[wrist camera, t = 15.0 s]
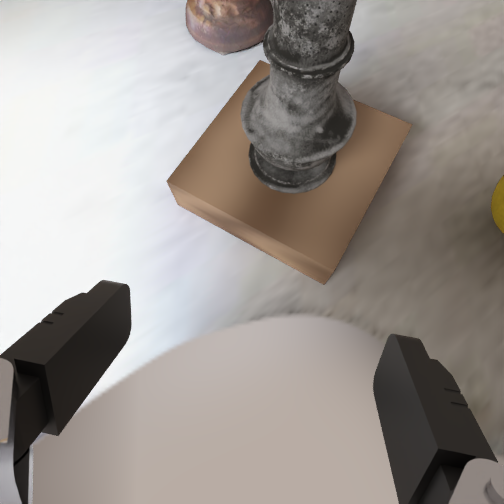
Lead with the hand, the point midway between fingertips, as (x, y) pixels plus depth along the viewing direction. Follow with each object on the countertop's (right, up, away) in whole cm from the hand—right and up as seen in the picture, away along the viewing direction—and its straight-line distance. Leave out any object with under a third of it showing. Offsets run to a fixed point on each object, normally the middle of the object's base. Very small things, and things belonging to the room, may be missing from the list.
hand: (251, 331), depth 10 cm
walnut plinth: (+3, +8, +13) cm, 15 cm away
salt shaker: (+2, +8, +10) cm, 13 cm away
